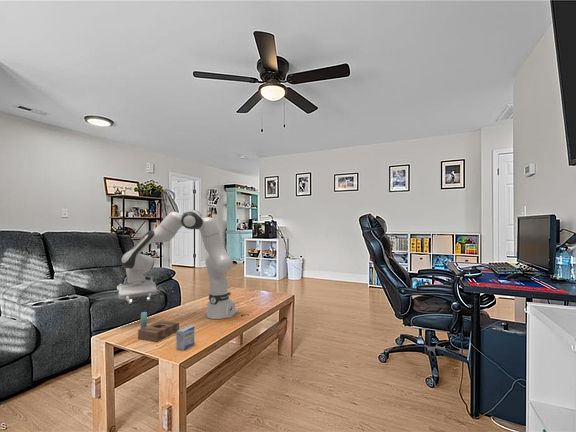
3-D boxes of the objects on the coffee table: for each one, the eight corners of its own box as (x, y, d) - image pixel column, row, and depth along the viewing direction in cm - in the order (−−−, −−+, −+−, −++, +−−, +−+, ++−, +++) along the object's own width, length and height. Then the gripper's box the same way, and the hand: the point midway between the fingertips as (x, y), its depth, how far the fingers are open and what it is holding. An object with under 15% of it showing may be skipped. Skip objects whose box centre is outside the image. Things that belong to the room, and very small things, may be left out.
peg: (143, 329, 160) (144, 311, 160) (147, 330, 159) (148, 312, 159) (139, 331, 157) (139, 313, 157) (143, 332, 156) (143, 313, 156)
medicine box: (183, 350, 134) (183, 331, 134) (175, 349, 135) (176, 330, 136) (194, 344, 141) (194, 326, 141) (187, 342, 143) (187, 324, 143)
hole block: (161, 328, 162) (162, 320, 163) (179, 330, 158) (179, 322, 158) (138, 338, 148) (138, 329, 148) (156, 342, 143) (156, 332, 143)
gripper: (117, 281, 166) (119, 301, 158) (155, 277, 179) (159, 296, 171) (115, 287, 169) (118, 308, 161) (153, 283, 182) (157, 302, 174)
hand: (139, 302), depth 166 cm, fingers open, 8 cm apart
